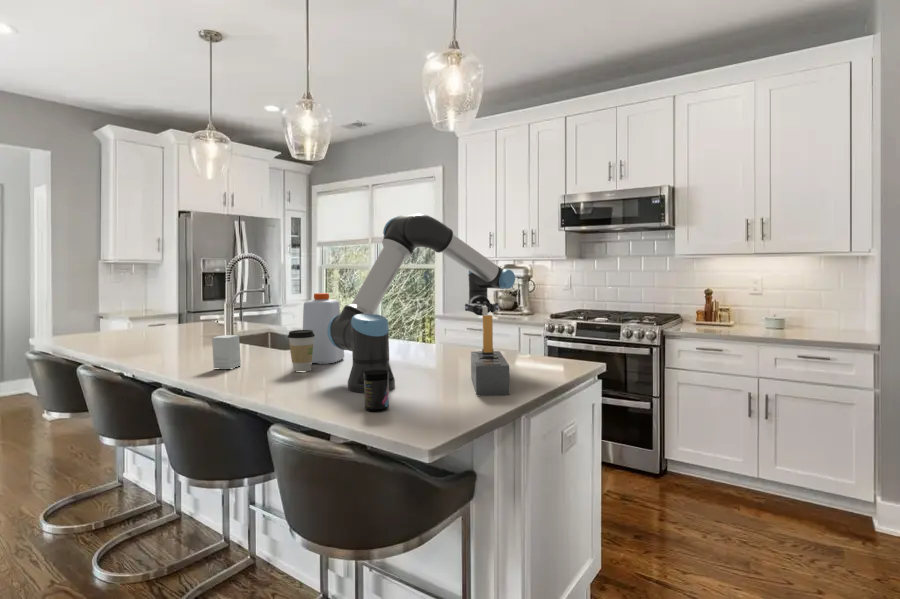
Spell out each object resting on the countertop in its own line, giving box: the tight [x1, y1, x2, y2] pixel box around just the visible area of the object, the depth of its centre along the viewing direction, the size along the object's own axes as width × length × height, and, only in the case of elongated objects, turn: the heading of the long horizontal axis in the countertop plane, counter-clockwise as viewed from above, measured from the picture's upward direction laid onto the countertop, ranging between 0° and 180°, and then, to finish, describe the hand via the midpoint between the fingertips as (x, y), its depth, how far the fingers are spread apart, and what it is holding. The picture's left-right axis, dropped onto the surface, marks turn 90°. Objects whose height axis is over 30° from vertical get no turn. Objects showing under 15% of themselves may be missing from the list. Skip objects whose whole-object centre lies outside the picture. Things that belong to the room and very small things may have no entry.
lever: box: [481, 314, 495, 355], centre depth 178 cm, size 2×4×13 cm, turn 91°
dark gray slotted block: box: [470, 350, 510, 396], centre depth 183 cm, size 40×10×9 cm, turn 1°
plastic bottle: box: [302, 292, 345, 365], centre depth 223 cm, size 15×15×28 cm
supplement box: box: [211, 334, 242, 369], centre depth 211 cm, size 7×7×13 cm
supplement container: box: [363, 370, 390, 413], centre depth 149 cm, size 7×7×10 cm
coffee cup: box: [287, 329, 315, 372], centre depth 204 cm, size 10×10×15 cm
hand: (485, 311), depth 188 cm, fingers closed
